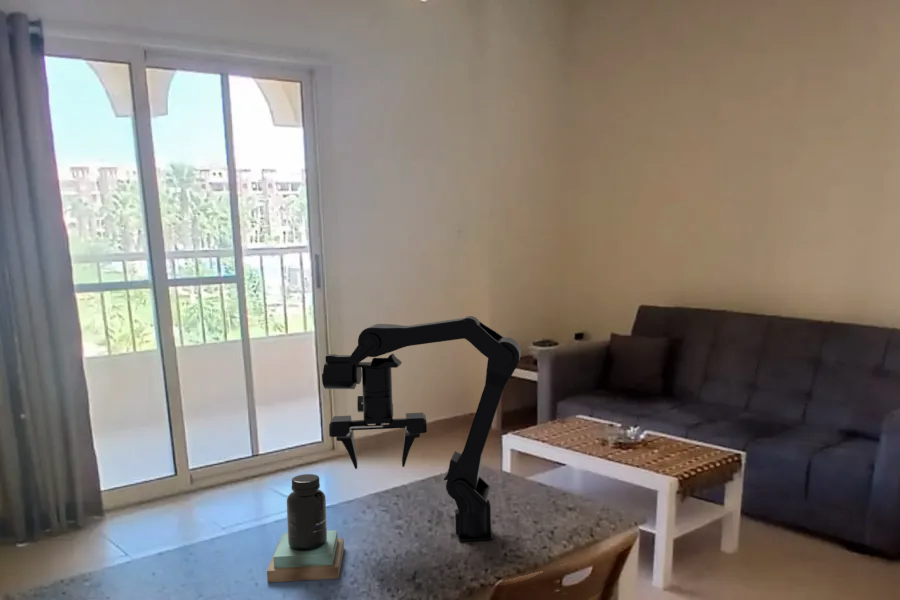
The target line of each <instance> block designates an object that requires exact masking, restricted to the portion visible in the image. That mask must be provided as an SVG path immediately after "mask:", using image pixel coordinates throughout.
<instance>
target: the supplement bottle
mask: <svg viewBox="0 0 900 600" xmlns="http://www.w3.org/2000/svg"><path fill="white" fill-rule="evenodd" d="M320 487H321V483H320V477H319V475H317V474H313V473H312V474H311V473H306V474H305V473H304V474H298V475H296V476H294V477H292V478H291V491H292V492H290V493H289V495H288V496H287V498H286V517H287V519H286V520H287V521H286V523H287V533H288V544H289V546H290V547H291V548H292V549H295V550H300V551H307V550H314V549H317V548H320V547H321V546H323V545H324V544H325V543H326V541H327V531H328V529H327V499H326V494H325V493H324V491H322V490H321V489H320Z"/></svg>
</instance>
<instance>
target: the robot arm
mask: <svg viewBox="0 0 900 600" xmlns="http://www.w3.org/2000/svg"><path fill="white" fill-rule="evenodd" d="M457 340H466V341H468V342H469V343H470V344H471V345H472V346H473V347H474V348H475V349H476V350H477V351H479V353H480V354H482V355H483V356H485V357H486V358H487V362H486V363H487V365H486V373H485V383H484V387H483V391H482V393H481V396H480V399H479V403H478V405H477V408H476V411H475V414H474V418H473V420H472V424H471V426H470V429H469V432H468V436H467V439H466V442H465V445H464V447H463V449H462V451H461V453H460V452H458V451H456V450H455V451H454V452H453V453H452V456H451V458H450V460H449V465H448V469H447V471H446V473H445V475H444V477H443V481H446V483H445V491H446V492H447V494H448V495H449V497H450V498H452V499H453V500H454V501H455V505H456V508H455V509H454V513H453V515H454V533H455V535H456V536H457V538H458V541H459V542H474V541H475V542H476V541H489V540H490V541H492V540H494V539H493V538H494V536H493V533H492V510H491V509H492V508H491V506H492V505H491V503H490V500H489V499H488V497H489V494H490V490H491V486H490V485H489V484H488V483H487V482H486V480H484V479H483V478H482V477H481V476H480V475H481V469H482V460H483V459H482V458H483V452H484V449H485V446H486V443H487V440H488V436H489V434H490V430H491V427H492V424H493V422H494V418H495V416H496V413H497V410H498V407H499V404H500V400H501V397H502V394H503V392H504V390H505V388H506V386H507V384H508V383H509V381H510V379H511V378H512V375H513V374H514V372H515V370H516V369H517V367H518V365H519V363H520V359H521V356H522V355H521V354H522V348H521V346H520V344H519V343H518V341H516V340H515V339H514V338H511V337H508V336H506V337H503V335H501V334H500V333H498V332H497V331H496V330H494V329H493V328H490V327H489V326H487V325H486V324H484V323H483V322H481V320H479V319H478V318H477V317H476V316H473V315H472V316H471V315H468V316H465V317H461V318H454V319H448V320H441V321H433V322H432V321H431V322H425V323H419V324H418V323H417V324H412V325H400V324H391V323H390V324H389V323H376V324H373V325H371V326H369V327H366V328H365V329H363V330H362V331H361V332H360V333H359V335H358V338H357V346H356V348H355V349H354V350H353V351H352V352H351V354H342V355H340V354H336V353H332V354H330V353H329V354H327V355H325V358H324V359H325V362H324V366H323V369H322V370H323V371H322V373H321V380H322V386H323V388H324V389H325V390H355V389H356V387H357V385H360V384H361V383H362V386H361V387H362V395H357V401H356V402H357V403H356V404H357V407H356V408H357V413H362V415H363V419H357V420H356V419H355V420H352V415H334V416H333V417H332V418H331V419H330V421H329V424H328V425H329V426H328V429H329V430H328V431H329V432H328V435H329V437H331V438H335V439H336V441H338V442H342V444H343V446H344V448H345V449H346V451H347V453H348V455H349V457H350V460H351V462H352V465H353V467H354V469H355V470H357V469H358V455H357V450H356V444H355V434H354V433H355V432H354V431H363V430H364V431H365V430H388V429H404V433H403V435H404V436H403V445H402V454H401V465H402V466H401V467H402V468H405V466H406V462H407V459H408V456H409V452H410V450H411V447H412V445H413V443H414V441H415V439H416V438H420V437H421V434H426V433H427V417H426V414H425V413H423V412H407V413H405V418H401V417H400V418H394V404H393V385H392V384H393V379H392V377H393V375H392V369H395V368H398V367H400V366H401V364H402V361H401V360H400V359H399V358H398V357H396V355H395V354H394V353H392V352H394V351H397V350H400V349H403V348H406V347H411V346H412V347H413V346H418V345H424V344H425V345H427V344H434V343H440V342H441V343H442V342H448V341H449V342H450V341H457ZM389 353H391V354H389ZM386 354H389V355H388V357H380V356H383V355H386ZM367 358H372V359H371V361H364V360H366V359H367Z"/></svg>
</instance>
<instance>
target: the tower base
mask: <svg viewBox="0 0 900 600" xmlns="http://www.w3.org/2000/svg"><path fill="white" fill-rule="evenodd" d="M344 541H345V540H344V537H338V529H336V530H334V529H333V530H327V541H326V543H325V544H324V545H323V546H321V547H320V548H317V549H314V550H307V551H300V550H295V549H292V548H291V547H290V546H289V544H288V532H282V534H281V537H280V539H279V541H278V542H277V545H276V548H275V550H274V552H273V554H272V558H271V559H270V562H269V565H268V567H267V570H266V578H267V579H266V581H267V582H266V583H280V582H281V583H282V582H283V583H284V582H295V581H296V582H299V581H314V580H315V581H317V580H333V579H334V580H335V579H336V580H337V579H339V578H340V572H341V567H342V561H343V555H344V550H345V543H344Z"/></svg>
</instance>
